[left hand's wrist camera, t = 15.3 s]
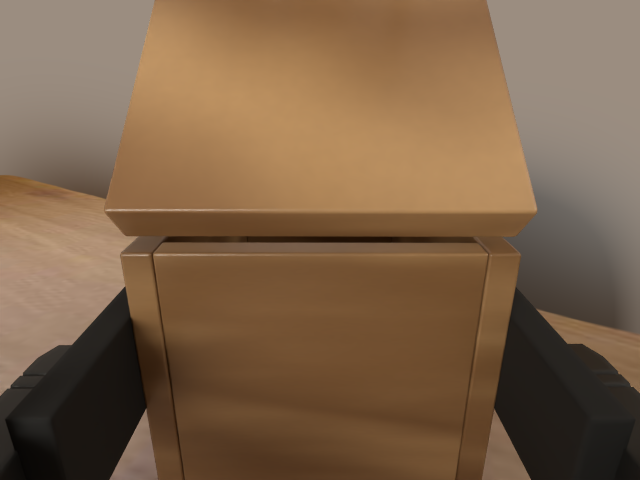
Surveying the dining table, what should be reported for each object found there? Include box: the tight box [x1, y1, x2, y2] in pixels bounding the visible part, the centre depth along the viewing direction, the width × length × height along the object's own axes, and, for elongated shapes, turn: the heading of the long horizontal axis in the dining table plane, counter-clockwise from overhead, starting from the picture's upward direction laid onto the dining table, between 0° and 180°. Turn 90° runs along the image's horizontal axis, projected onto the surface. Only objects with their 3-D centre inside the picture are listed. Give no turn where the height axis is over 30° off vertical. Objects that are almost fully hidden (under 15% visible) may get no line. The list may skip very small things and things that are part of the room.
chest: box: [120, 236, 521, 480], centre depth 18 cm, size 13×9×9 cm
